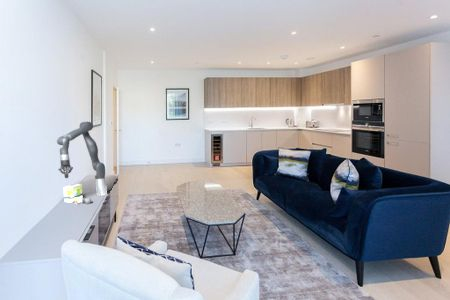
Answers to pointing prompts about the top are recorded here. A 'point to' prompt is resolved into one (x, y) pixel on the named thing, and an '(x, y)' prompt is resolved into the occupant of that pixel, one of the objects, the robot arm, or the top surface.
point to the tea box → (72, 192)
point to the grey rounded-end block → (87, 200)
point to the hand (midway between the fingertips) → (66, 178)
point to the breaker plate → (79, 202)
